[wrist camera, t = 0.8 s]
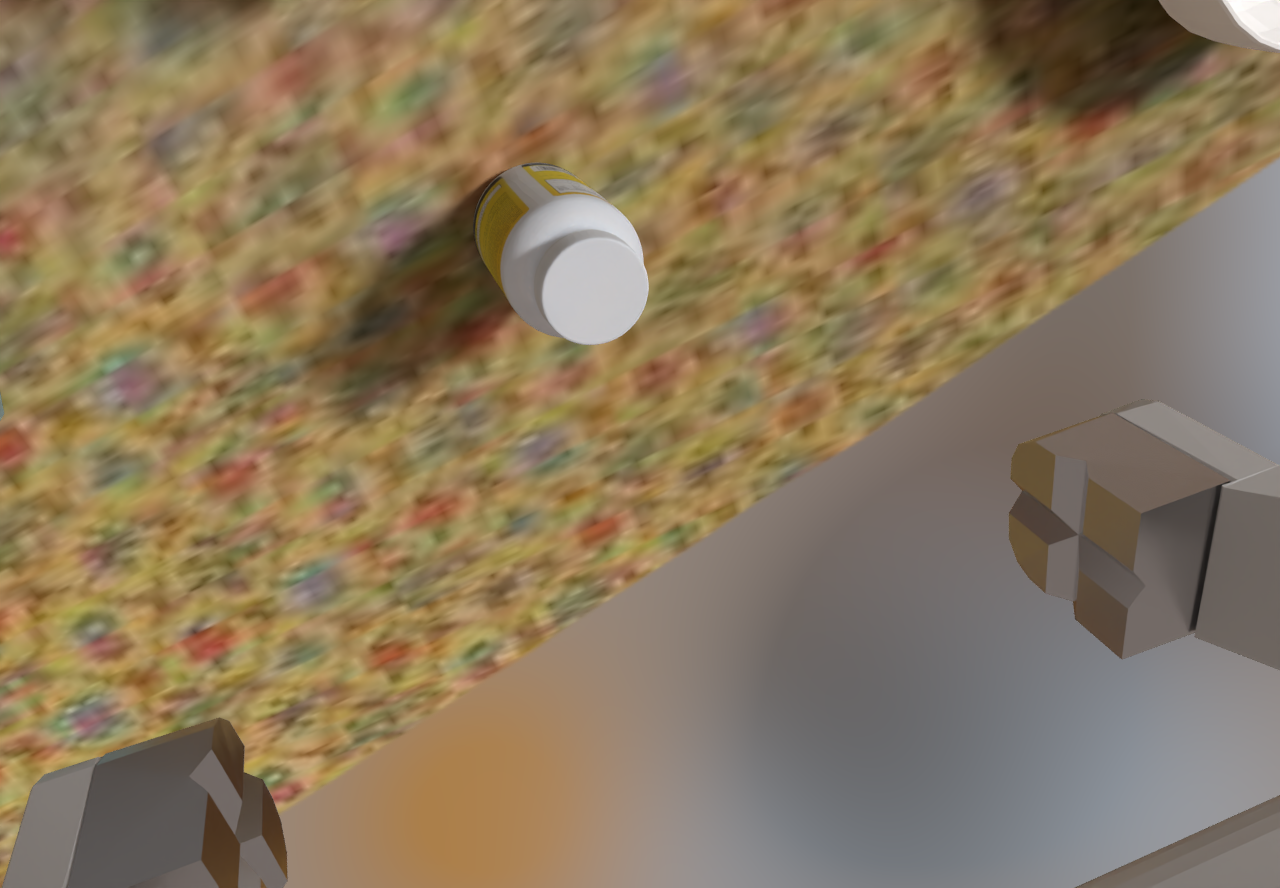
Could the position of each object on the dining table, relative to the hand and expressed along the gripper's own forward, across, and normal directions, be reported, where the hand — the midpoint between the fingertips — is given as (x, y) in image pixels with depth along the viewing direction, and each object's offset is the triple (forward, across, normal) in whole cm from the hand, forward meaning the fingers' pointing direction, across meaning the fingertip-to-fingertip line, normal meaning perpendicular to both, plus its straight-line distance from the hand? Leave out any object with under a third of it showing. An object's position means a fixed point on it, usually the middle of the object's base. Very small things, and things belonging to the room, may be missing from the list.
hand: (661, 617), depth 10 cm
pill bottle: (+41, -6, +8) cm, 43 cm away
